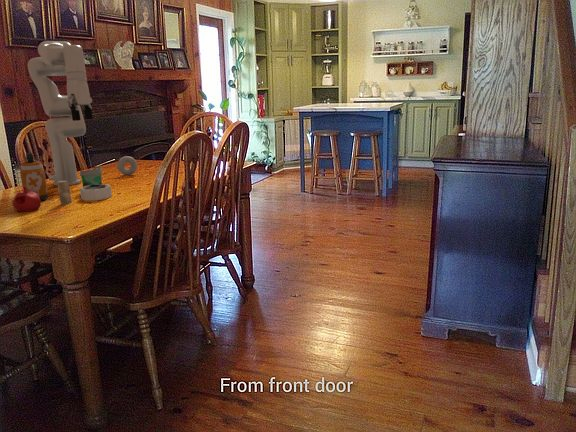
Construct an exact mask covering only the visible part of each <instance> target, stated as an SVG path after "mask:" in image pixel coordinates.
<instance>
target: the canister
mask: <svg viewBox="0 0 576 432" xmlns="http://www.w3.org/2000/svg"><path fill="white" fill-rule="evenodd" d="M25 154H26V157H25V158H23V159H22V160H20V171H19V173H20V180H21V184H22V190H24V189H23V187H24V186H26V190H27V189H28V191H31V190H32V191H31V192H35V193H37V194H38V195H39V197H40V202H41V201H45V200H47V199H48V198H49V194H48V193H49V192H48V191H49V190H48V186H47V185H48V184H47V180H46V178H47V177H46V172H45V169H44V168H43V164H42V161H40V160H39V161H38V160H35V161H34V159H35V158H34V155H33V152H30V153H28V152H26V153H25Z"/></svg>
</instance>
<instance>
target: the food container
mask: <svg viewBox="0 0 576 432" xmlns="http://www.w3.org/2000/svg"><path fill="white" fill-rule="evenodd" d="M103 171H104V170H103V169H102V168H101V166H94V168H92V169H91V168H90V169H86V170H80V172H79V176H80V178H81V183H82V187H84V186H89V185H95V184H103V182H102V174H103Z"/></svg>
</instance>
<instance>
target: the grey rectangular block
mask: <svg viewBox="0 0 576 432" xmlns="http://www.w3.org/2000/svg"><path fill="white" fill-rule="evenodd" d="M57 184H58V186H57V188H58V189H57V191H58V197H59V201H60V205H69V204H71V203H72V197H71V196H72V194H71V189H70V185H69V181H59V182H57Z"/></svg>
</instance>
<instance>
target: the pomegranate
mask: <svg viewBox="0 0 576 432" xmlns="http://www.w3.org/2000/svg"><path fill="white" fill-rule="evenodd" d="M23 189H24V190H23ZM31 191H32V190H31ZM31 191H28V189H27V190H26V186H24V187H23V186H22V189H21V190H17V191H15V196H14V198H13V199H12V203H11V204H12V207H13V208H14V209H15V210H16V211H18V212H20V213H21V212H32V211H33V212H34V211H36V210H38V209H39V208H41V203H42V202H41V201H40V197H39V195H38V194H37V193H35V192H31Z"/></svg>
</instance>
